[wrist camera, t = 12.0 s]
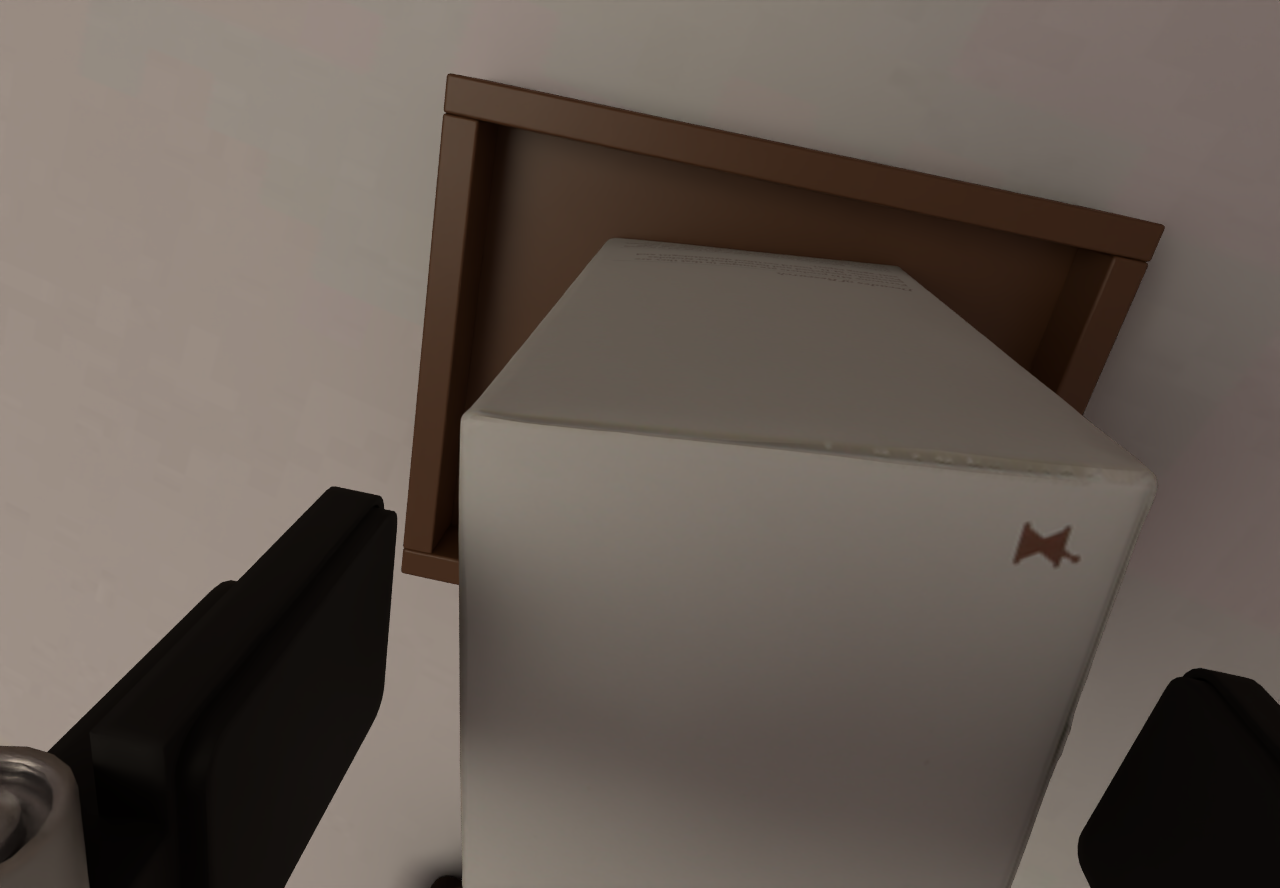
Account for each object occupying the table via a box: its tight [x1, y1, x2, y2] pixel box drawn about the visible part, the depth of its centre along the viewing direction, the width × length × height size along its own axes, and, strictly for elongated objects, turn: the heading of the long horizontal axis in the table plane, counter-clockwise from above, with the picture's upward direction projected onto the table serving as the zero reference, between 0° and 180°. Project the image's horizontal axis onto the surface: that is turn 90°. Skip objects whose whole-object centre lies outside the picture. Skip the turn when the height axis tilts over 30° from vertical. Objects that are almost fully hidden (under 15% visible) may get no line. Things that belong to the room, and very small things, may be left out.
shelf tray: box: [401, 73, 1165, 585], centre depth 21 cm, size 13×16×3 cm
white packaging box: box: [459, 238, 1158, 888], centre depth 15 cm, size 7×7×13 cm
